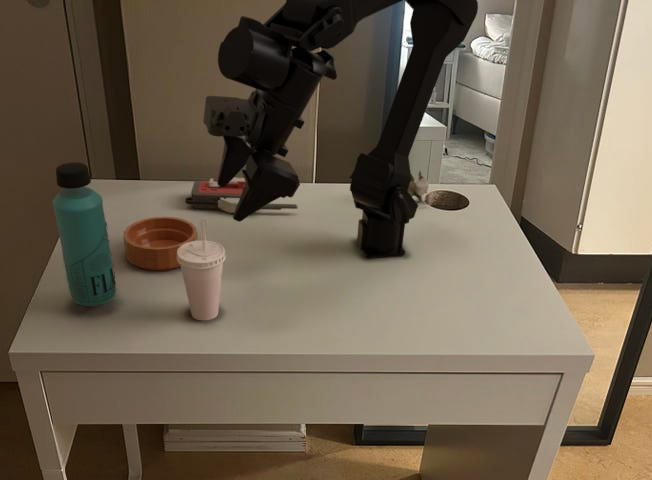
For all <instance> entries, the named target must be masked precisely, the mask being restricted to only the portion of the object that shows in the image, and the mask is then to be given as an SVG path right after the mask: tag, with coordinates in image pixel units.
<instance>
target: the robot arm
mask: <svg viewBox="0 0 652 480" xmlns="http://www.w3.org/2000/svg"><path fill="white" fill-rule="evenodd" d="M403 1H405V3H406V4H407V5H408V6H409V7H410V8H411V9H412V14H411V17H410V21H409V27H410V33H411V40H412V47H411V50H410V52H409V56H408V59H407V62H406V64H405V67H404V70H403V72H402V75H401V78H400V81H399V82H398V86H397V89H396V92H395V95H394V98H393V99H392V103H391V105H390V108H389V112H388V114H387V117H386V119H385V122H384V124H383V128H382V131H381V133H380V136H379V139H378V142H377V144H376V146H374V147H373V148H372V149H371V150H370V151H369V152H368V153H367V154H366V153H364V152H361V153H359V155H358V157H357V159H356V163H355V167H354V169H353V171H352V173H351V175H350V176H349V179H350V180H351V181H350V185H349V192H351V197H352V198H353V203H354V207H355V209H358V210H361V211H362V215H361V218H360V219H359V220H358V224H357V225H358V226H357V235H356V236H357V237H356V244H357V245H358V247H359V248H360V250H361V251H362V252H363V254H364V256H365V257H366V258H367V259H374V258H385V257H387V258H388V257H398V256H399V257H401V256H406V250H405V249H404V247H403V243H404V235H405V228H406V225H407V224H409V223H410V220H412V219H414V218H415V215H416V213H417V210H418V208H419V204H418V202H417V201H416V200H415V199H414V198H413V197H411V195H410V194H409V193H408V192H407V191H408V188H409V184H410V181H411V175H412V173H411V172H412V171H411V166H410V154H411V150H412V148H413V145H414V143H415V141H416V137H417V136H418V132H419V129H420V126H421V124H422V121H423V119H424V117H425V114H426V110H427V108H428V105H429V104H430V100H431V97H432V95H433V93H434V90H435V87H436V84H437V82H438V79H439V77H440V74H441V71H442V69H443V66H444V64H445V61H446V59H447V57H448V56H449V55H450V54H451V53H453V52H454V51H455V49H457V48H458V47H459V46H460V45H461V44H462V43H463V42H465V39H466V37H467V35H468V33H469V31H470V29H471V27H472V25H473V23H474V21H475V19H476V18H477V14H478V10H479V3H478V0H286V1H285V3H284V4H283V5H282V6H281V7H280V8H279V9H278V10H277V11H276V12H275V13H274V14H273V15H272V16H270V17H269V18H268V19H267V20H266V21H265V22H264V23H262V22H261V21H260V20H257V19H255V18H252V17H249V16H245V15H242V16H240V17H239V21H238V25H237V26H236V27H235V26H234V28H232V29H231V30H230V31H229V32H228V33H227V34H226V36H225V37H224V39H223V41H221V42H220V45H219V47H218V53H217V65H218V69H219V72H220V74H221V76H223V77H224V78H225V79H228V80H231V81H233V82H236V83H239V84H242V85H245V86H247V87H250V88H253V89H255V90H252V91H251V93H250V95H249V97H248V98H247V99H246V98H239V97H235V96H234V97H233V96H223V95H222V96H220V95H207V96H206V97H205V102H204V103H205V104H204V112H203V125H205V127H206V129H207V132H208V134H209V135H210V136H213V137H219V138H222V139H223V142H224V145H223V152H222V157H221V161H220V167H219V173H218V177H217V184H218V185H219V186H222V187H225V186H226V185H227V184H228V183H229V182H230V181H231V180H232V179H233V178H234V177H237V175H238V174H239V173H240V172H242V175H243V176H242V177H244V179H245V182H246V184H245V187H244V189H243V192H242V194H241V197H240V199H239V202H238V204H237V207H236V210H235V213H233V216H232V218H233V220H234V221H236V222H242V221H244V220H246V219H247V218H249V216H252V215H253V214H254V213H256V212H257V211H260V210H261V209H260V208H262V207H263V206H265V205H267V204H271V203H272V202H274V201H276V200H278V199H279V198H281V199H282V198H283V199H285V198H287V197H288V198H290V199H291V198H294V195H295V194H296V192H297V191H298V189H299V187H300V185H301V182H300V179H299V176H298V173H297V172H296V171H295V169H294V167H293V166H292V164H291V163H290V162H289V161H286V160H284V159H282V158H280V157H277V156H276V155H278V156H281V157H283V158H286V157H287V155H288V153H289V149H288V147H287V146H286V143H287V141H288V140H289V138H290V136H291V134H293V133H292V132H293V131H294V129H295V128H297V129H299V130H302V128H303V127H304V125H305V120H304V119H303V118H302V115H303V113H304V111H305V109H306V108H307V106H308V104H309V102H310V101H311V99H312V97H313V95H314V93H315V92H316V90H317V88H318V86H319V84H320V82H321V81H322V80H323V77H325V78H328V79H329V80H332V81H334V80H336V79H337V78H338V74H337V70H336V67H335V58H334V56H333V55H332V54H330V53H329V52H328V51H327V50H330V49H333V48H335V47H336V46H338V45H339V44H340V43H342V42H343V41H345V40H346V39H348V37H350V36H351V35H352V34H353V33H354V32H355V29H356V27H357V25H358V24H359V23H360V22H361V21H362V20H364V19H367V18H369V17H370V16H373V15H375V14H377V13H380V12H381V11H383V10H386V9H389V8H390V7H392V6H394V5H397V4H399V3H401V2H403ZM318 49H322V50H320V51H317V50H318ZM313 51H317V52H313ZM244 167H245V169H244ZM259 209H260V210H259Z"/></svg>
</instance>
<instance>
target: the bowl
mask: <svg viewBox="0 0 652 480" xmlns="http://www.w3.org/2000/svg"><path fill="white" fill-rule="evenodd" d="M197 229H198V228H197V226H195V225H194V224H193V223H192V222H191V221H188V220H186V219H183V218H179V217H175V216H154V217H148V218H143V219H140V220H138V221H135V222H133V223H132V224H130V225H128V226H127V227H126V228H125V230H123V244H124V252H125V257H126V259H127V260H128V261H129V263H131V264H133V265H134V266H136V267H140V268H142V269H145V270H151V271H169V270H174V269H177V268H181V265H180V264H179V262H178V261H177V250H178V248H179V247H180V246H182V245H183V244H186V243H188V242H192V241H199V240H198V231H197Z"/></svg>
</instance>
